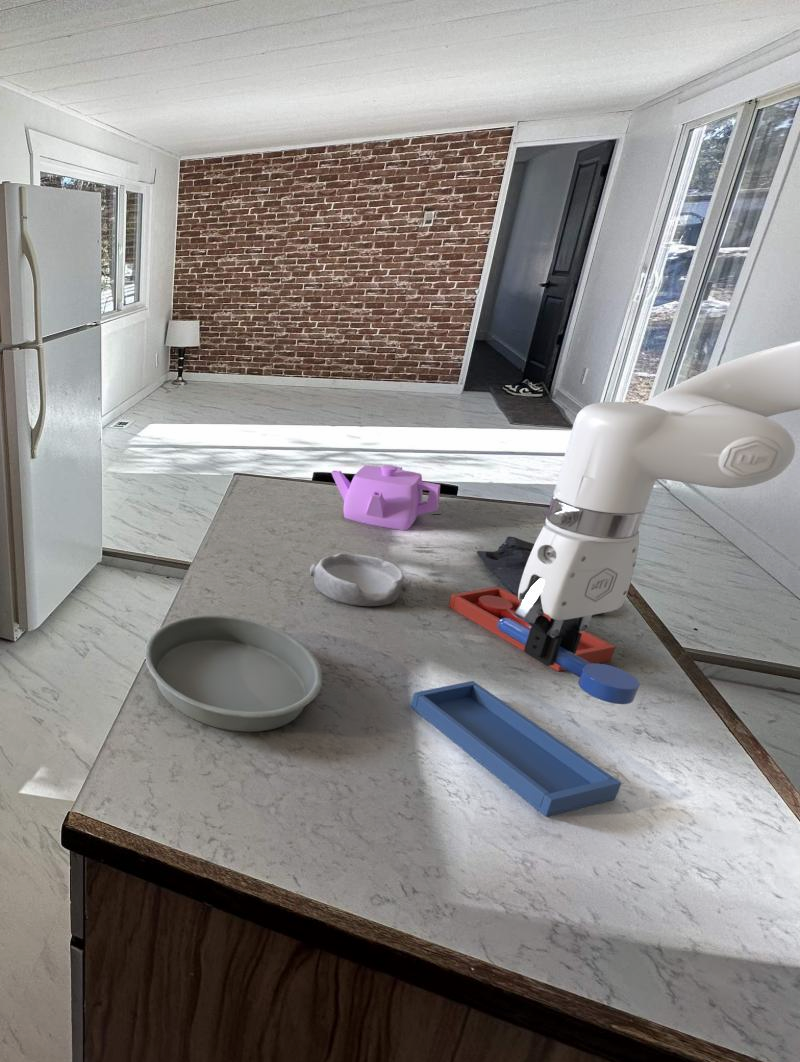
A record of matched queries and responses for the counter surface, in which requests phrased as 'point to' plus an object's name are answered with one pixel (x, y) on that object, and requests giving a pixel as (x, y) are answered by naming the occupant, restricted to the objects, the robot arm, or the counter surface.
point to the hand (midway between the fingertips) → (547, 656)
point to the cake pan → (232, 671)
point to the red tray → (467, 606)
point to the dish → (359, 579)
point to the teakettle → (386, 496)
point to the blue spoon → (584, 670)
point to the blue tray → (515, 749)
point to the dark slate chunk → (509, 562)
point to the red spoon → (500, 608)
